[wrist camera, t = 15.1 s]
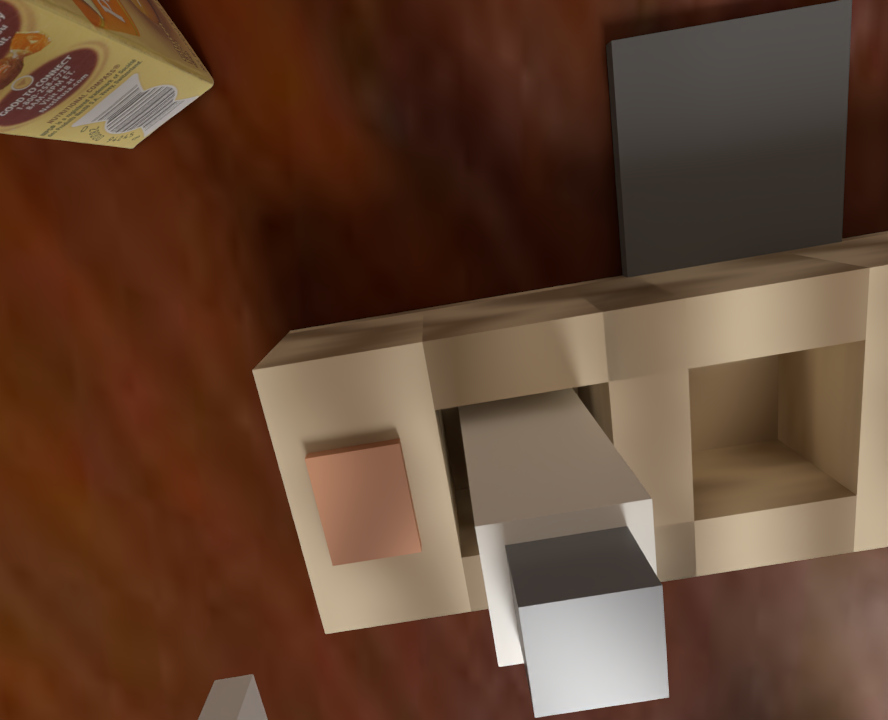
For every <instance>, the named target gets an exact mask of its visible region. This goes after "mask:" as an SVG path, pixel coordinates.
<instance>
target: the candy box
mask: <svg viewBox="0 0 888 720" xmlns="http://www.w3.org/2000/svg"><path fill="white" fill-rule="evenodd" d="M213 84H214V81H213V78H212V76H211V75H210V74H209V72H208V71H207V69H206V68H205V66H204V65H203V64H202V62H201V61H200V59H199V58H198V56H197V55H196V54H195V52H194V51H193V49H192V48H191V46H190V45H189V43H188V42H187V41H186V39H185V38H184V36H183V35H182V33H181V32H180V31H179V29H178V28H177V27H176V25H175V24H174V22H173V21H172V20H171V18H170V17H169V16H168V14H167V13H166V11H165V10H164V9H163V7H162V6H161V4H160V3H159V2H158V0H0V133H4V134H12V135H22V136H30V137H37V138H46V139H55V140H63V141H73V142H79V143H89V144H96V145H106V146H115V147H123V148H129V149H130V148H134V147H135V146H136V145H137V144H138V143H140V142H141V141H142V140H143V139H145V138H146V137H147V136H149V135H150V134H151V133H152V132H154V131H155V130H156V129H157V128H159V127H160V126H161V125H162V124H164V123H165V122H166V121H167V120H169V119H170V118H171V117H173V116H174V115H176V114H177V113H179V112H180V111H181V110H182V109H184V108H185V107H186V106H188V105H189V104H190V103H192V102H193V101H194V100H196V99H197V98H198V97H199V96H201V95H202V94H203V93H204V92H206V91H207V90H208V89H210V88H211V87H212V86H213Z"/></svg>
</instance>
